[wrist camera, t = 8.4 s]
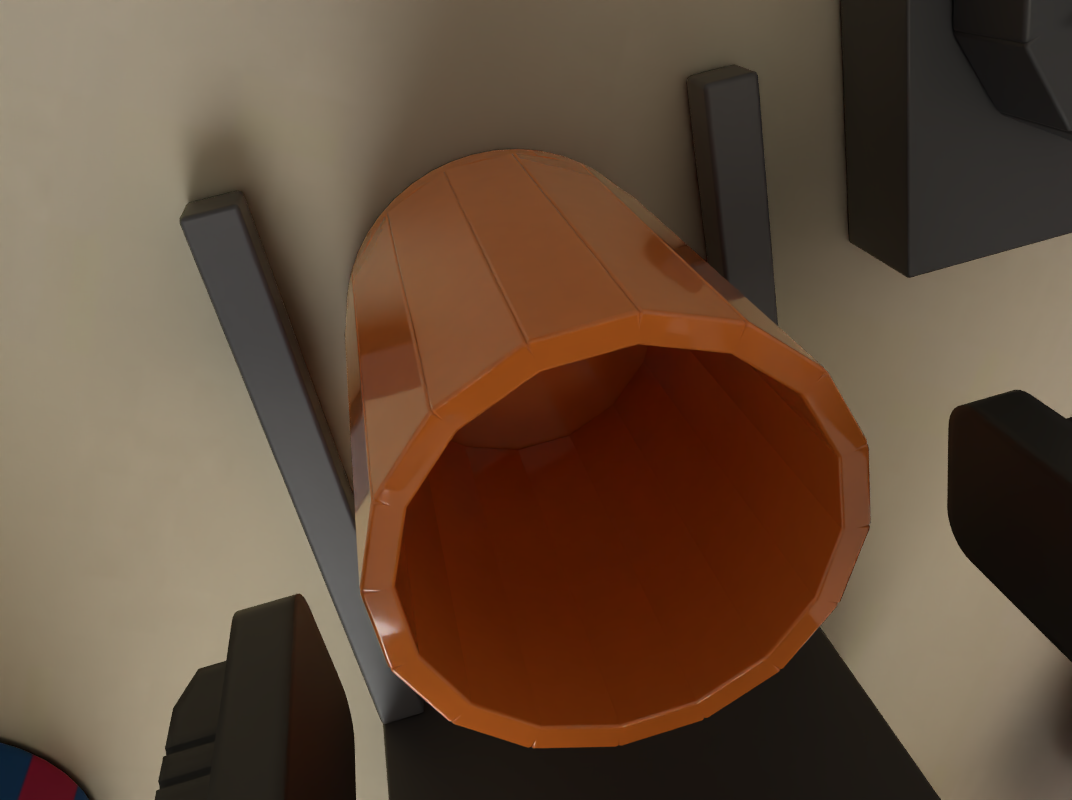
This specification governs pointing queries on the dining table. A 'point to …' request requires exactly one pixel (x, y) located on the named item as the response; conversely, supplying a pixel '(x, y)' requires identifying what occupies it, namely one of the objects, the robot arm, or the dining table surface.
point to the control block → (956, 127)
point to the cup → (33, 778)
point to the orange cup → (583, 461)
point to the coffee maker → (563, 773)
